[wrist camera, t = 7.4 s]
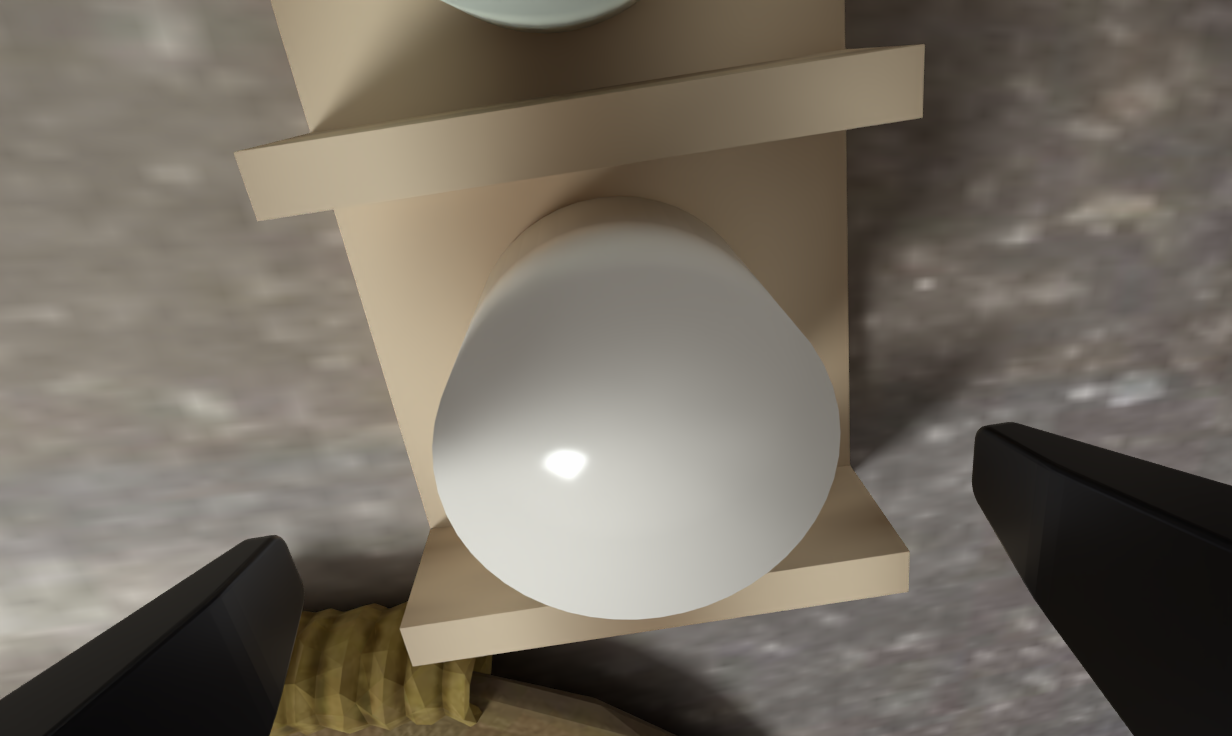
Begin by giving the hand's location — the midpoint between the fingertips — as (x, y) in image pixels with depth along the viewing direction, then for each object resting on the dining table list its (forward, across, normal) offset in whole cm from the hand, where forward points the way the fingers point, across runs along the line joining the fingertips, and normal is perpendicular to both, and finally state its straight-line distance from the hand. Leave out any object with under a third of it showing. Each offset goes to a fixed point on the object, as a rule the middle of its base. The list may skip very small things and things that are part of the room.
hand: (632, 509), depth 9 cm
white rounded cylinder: (+6, 0, 0) cm, 6 cm away
